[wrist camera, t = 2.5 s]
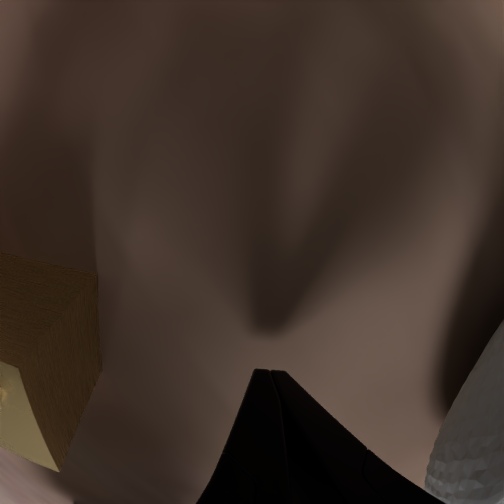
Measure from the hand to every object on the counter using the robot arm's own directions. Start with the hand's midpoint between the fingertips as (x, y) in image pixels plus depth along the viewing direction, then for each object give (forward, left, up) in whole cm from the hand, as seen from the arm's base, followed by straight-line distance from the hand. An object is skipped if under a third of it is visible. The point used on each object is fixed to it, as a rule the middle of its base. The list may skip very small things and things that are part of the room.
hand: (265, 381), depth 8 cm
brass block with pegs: (0, +11, -2) cm, 11 cm away
